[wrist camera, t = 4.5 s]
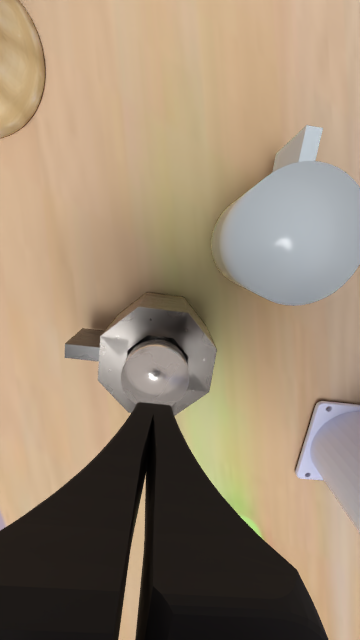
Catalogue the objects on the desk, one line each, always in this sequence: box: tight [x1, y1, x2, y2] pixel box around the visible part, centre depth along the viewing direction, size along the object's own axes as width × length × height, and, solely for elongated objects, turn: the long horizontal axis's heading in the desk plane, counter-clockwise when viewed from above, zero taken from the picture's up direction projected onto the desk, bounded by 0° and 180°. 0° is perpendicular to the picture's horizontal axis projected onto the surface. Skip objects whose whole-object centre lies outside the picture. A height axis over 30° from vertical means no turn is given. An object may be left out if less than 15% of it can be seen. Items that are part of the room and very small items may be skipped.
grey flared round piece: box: [121, 335, 189, 406], centre depth 17 cm, size 4×4×6 cm
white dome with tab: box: [211, 125, 360, 306], centre depth 15 cm, size 6×8×7 cm
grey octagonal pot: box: [65, 292, 217, 416], centre depth 18 cm, size 9×7×5 cm
